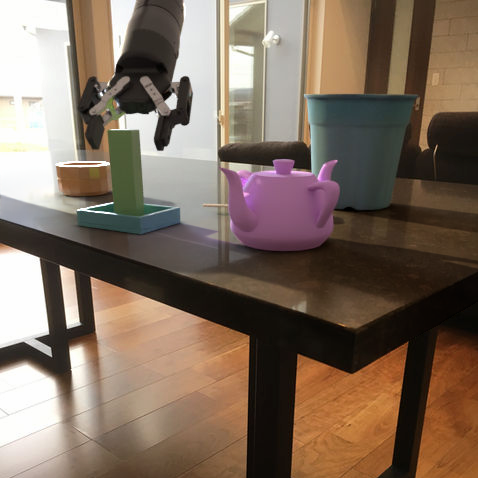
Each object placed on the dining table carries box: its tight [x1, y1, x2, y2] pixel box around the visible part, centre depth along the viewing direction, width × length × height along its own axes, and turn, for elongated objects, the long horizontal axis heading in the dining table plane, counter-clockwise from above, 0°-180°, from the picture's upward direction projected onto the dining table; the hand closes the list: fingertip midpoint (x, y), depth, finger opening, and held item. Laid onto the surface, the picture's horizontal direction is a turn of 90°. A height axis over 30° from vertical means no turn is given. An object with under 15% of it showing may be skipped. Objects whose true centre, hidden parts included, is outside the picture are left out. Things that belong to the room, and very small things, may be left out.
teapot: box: [218, 158, 340, 252], centre depth 57 cm, size 12×14×9 cm
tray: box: [75, 202, 182, 235], centre depth 67 cm, size 10×8×2 cm
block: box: [107, 128, 145, 217], centre depth 65 cm, size 3×3×11 cm
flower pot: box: [303, 93, 419, 211], centre depth 79 cm, size 16×16×16 cm
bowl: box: [55, 161, 112, 197], centre depth 92 cm, size 9×9×5 cm
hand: (125, 145), depth 64 cm, fingers open, 8 cm apart
